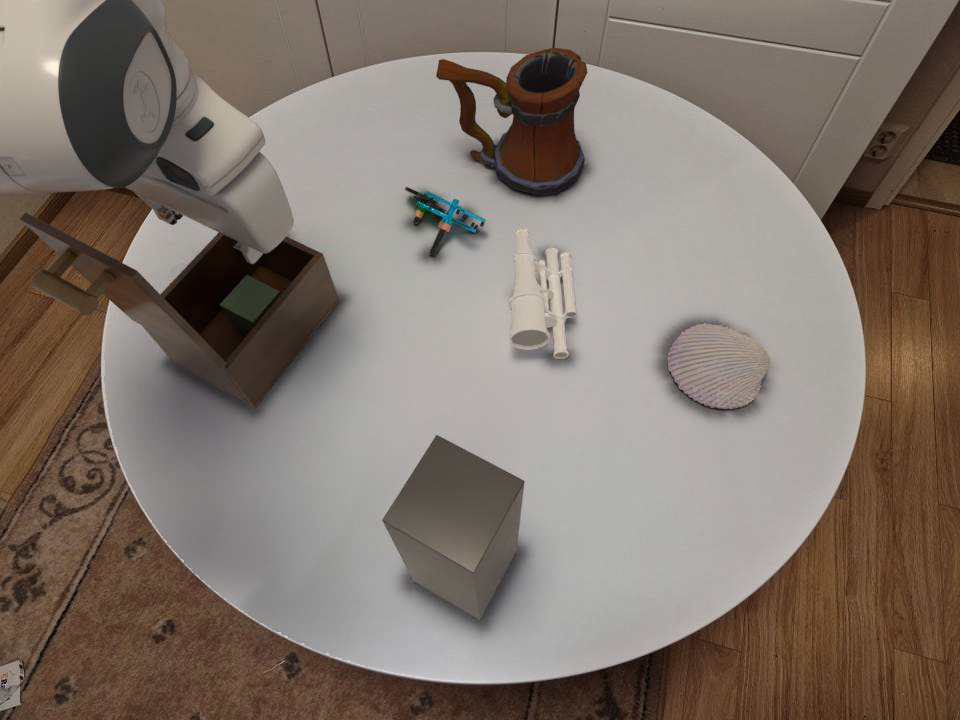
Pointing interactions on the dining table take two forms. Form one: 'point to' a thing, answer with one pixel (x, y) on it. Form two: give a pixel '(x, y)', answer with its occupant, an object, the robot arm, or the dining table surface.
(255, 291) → the block
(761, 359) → the seashell
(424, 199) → the stick construction toy
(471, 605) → the stand
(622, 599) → the dining table surface
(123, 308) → the chest lid
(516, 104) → the mug
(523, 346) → the white tubular piece
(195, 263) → the chest
